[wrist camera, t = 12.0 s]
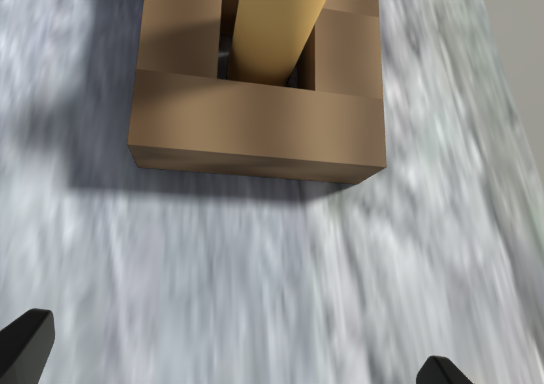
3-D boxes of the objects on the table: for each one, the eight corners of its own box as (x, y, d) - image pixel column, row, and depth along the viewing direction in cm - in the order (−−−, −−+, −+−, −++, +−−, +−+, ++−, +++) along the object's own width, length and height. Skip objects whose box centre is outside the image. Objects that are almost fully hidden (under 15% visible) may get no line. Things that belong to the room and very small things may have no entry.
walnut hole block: (138, 167, 23) (126, 144, 19) (159, -29, 26) (153, -82, 22) (357, 184, 25) (386, 166, 22) (352, 4, 29) (376, -39, 25)
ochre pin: (278, 111, 26) (359, -50, 13) (220, 93, 25) (247, -93, 13) (291, 60, 27) (377, -132, 14) (235, 42, 26) (274, -175, 14)
